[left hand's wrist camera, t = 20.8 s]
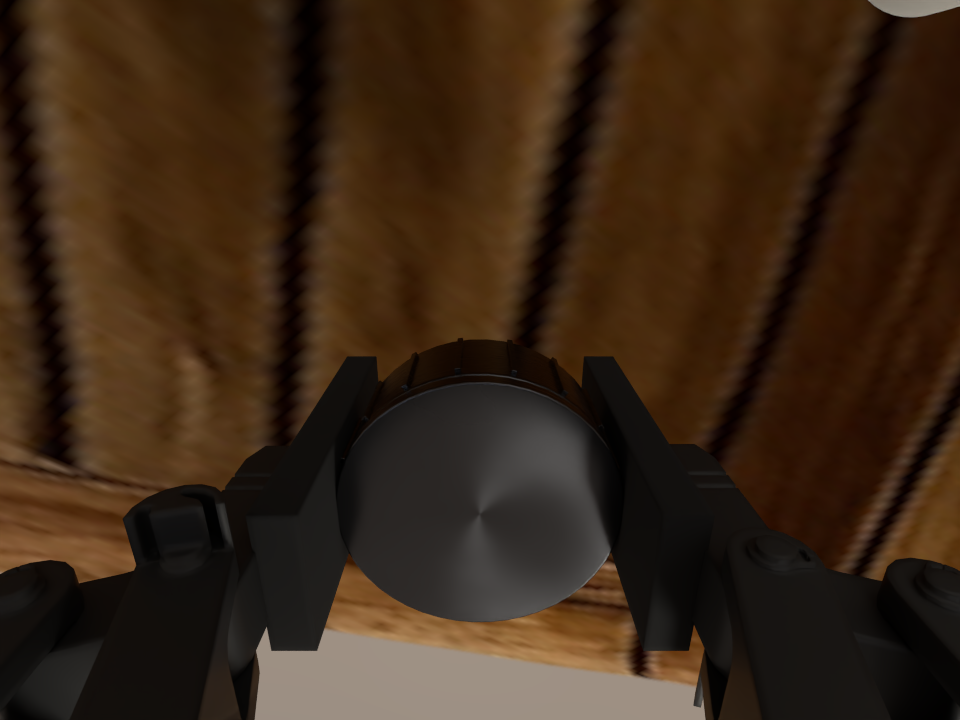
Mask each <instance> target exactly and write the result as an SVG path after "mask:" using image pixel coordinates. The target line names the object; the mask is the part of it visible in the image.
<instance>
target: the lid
mask: <svg viewBox="0 0 960 720" xmlns="http://www.w3.org/2000/svg"><path fill="white" fill-rule="evenodd" d="M603 429H604V426H603V424H602V422H601V419H600V417H599V415H598V413H597V410H596V408H595V406H594V404H593V401H592V399H591V397H590V395H589V392H588V391H587V389H586V388H585V389H583V390H582V388H581V387H580V386H579V385H578V383H577V382H576V381H575V379H574V378H572V377H571V376H570V375H569V374H568V373H567V372H566V371H565V370H564V369H563V368H562V367H560V366H559V365H558V363H557V360H556V359H555V358H553V357H552V359H549V358H547V357H545V356H543V355H542V354H540V353H538V352H536V351H533V350H531V349H528V348H526V347H523V346H520V345H516V344H513V342H512V340H507V342H504V341H495V340H464V341H463V338H458V341H457V342H451V343H447V344H444V345H440V346H436V347H434V348H431V349H429V350H426V351H424V352H422V353H420V354H417V353H416V352H415V353H413V354H412V356H411V359H409V360H407V361H406V362H405V363H403V364H402V365H401V366H399V367H398V368H397V369H395V370H394V371H393V372H392V373H391V374H390V375H389V376H388V377H387V378H386V379H385V380H384V381H383V382H381V381H379V382H378V383H377V385H376V388H375V390H374V392H373V395H372V397H371V399H370V401H369V404H368V406H367V408H366V410H365V413H364V415H363V417H362V418H359V420H358V422H357V424H356V426H355V429H354V431H353V433H352V435H351V437H350V440H349V442H348V444H347V446H346V449H345V451H344V453H343V455H342V457H341V461H340V462H341V463H343V464H342V467H341V470H340V473H339V476H338V482H337V487H336V503H337V512H338V520H339V528H340V533H341V536H342V539H343V541H344V543H345V545H346V548H347V550H348V552H349V554H350V555H351V557H352V558H353V560H354V561H355V563H356V564H357V566H358V567H359V568H360V569H361V570H362V572H363V573H364V574H365V575H366V576H367V578H369V579H370V580H371V581H372V582H373V583H374V584H375V585H376V586H377V587H378V588H380V589H381V590H382V591H384V592H385V593H387V594H388V595H389V596H391V597H392V598H394V599H396V600H398V601H399V602H401V603H403V604H405V605H407V606H409V607H411V608H414V609H416V610H418V611H421V612H423V613H427V614H430V615H433V616H437V617H440V618H446V619H451V620H456V621H467V622H493V621H502V620H509V619H514V618H519V617H524V616H527V615H530V614H533V613H536V612H539V611H542V610H544V609H546V608H548V607H551V606H553V605H555V604H557V603H559V602H560V601H562V600H564V599H566V598H567V597H569V596H570V595H572V594H573V593H574V592H576V591H577V590H579V589H580V588H581V587H582V586H584V585H585V584H586V583H587V582H588V581H589V580H590V579H591V578H592V577H593V576H594V575H595V574H596V573H597V571H598V570H599V569H600V568H601V566H602V565H603V564H604V563H605V561H606V559H607V558H608V556H609V554H610V553H611V551H612V549H613V547H614V545H615V542H616V540H617V538H618V535H619V532H620V528H621V523H622V514H623V506H624V488H623V484H622V479H621V474H620V467H619V465H618V463H617V460H616V458H615V456H614V453H613V451H612V449H611V447H610V444H609V442H608V440H607V437H606V435H605V433H604V431H603Z"/></svg>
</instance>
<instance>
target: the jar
mask: <svg viewBox="0 0 960 720" xmlns="http://www.w3.org/2000/svg"><path fill="white" fill-rule="evenodd" d="M868 1H869V2H871V3H872V4H873V5H874V6H875V7H877V8H879V9H880V10H882V11H884V12H886V13H889V14H892V15H896V16H901V17H920V16H926V15H930V14H934V13H937V12H941V11H945V10H948V9H952V8H955V7H959V6H960V0H868Z"/></svg>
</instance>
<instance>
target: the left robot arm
mask: <svg viewBox="0 0 960 720" xmlns="http://www.w3.org/2000/svg"><path fill="white" fill-rule="evenodd" d="M377 383H378V372H377V359H376V357H347V358H346V360H345V361H344V363H343V364H342V366H341V367H340V369H339V370H338V372H337V374H336V375H335V377H334V378H333V380H332V381H331V383H330V385H329V386H328V388H327V389H326V391H325V392H324V394H323V395H322V397H321V399H320V400H319V402H318V403H317V405H316V406H315V408H314V409H313V411H312V413H311V414H310V416H309V417H308V419H307V420H306V422H305V423H304V425H303V427H302V428H301V430H300V431H299V433H298V434H297V436H296V438H295V439H294V441H293V442H292V444H291V445H290V446H265V447H264V448H262V449H261V450H259V451H258V452H256V453H255V454H253V455H252V456H250V457H249V458H247V459H246V460H245V461H244V463H243V464H242V465H241V467H240V468H239V469H238V471H237V472H236V473H235V477H232V479H231V480H230V481H229V483H228V484H227V485H226V487H225V490H223V491H222V492H220V491H219V490H218V489H217V488H216V487H212V486H207V485H203V484H198V485H183V486H179V487H175V488H170V489H166V490H164V491H161V492H159V493H156V494H154V495H152V496H149V497H147V498H146V499H144V500H143V501H141V502H140V503H138V504H137V505H135V506H134V507H132V508H131V510H130V511H129V512H128V513H127V514H126V516H125V517H124V518H123V521H124V525H125V528H126V532H127V535H128V538H129V542H130V545H131V548H132V552H133V555H134V559H135V562H136V567H135V570H134V571H131V572H128V573H124V574H120V575H115V576H111V577H106V578H102V579H97V580H93V581H88V582H83V583H79V582H78V579H77V577H76V574H75V571H74V569H73V568H72V567H71V566H70V565H68V564H67V563H66V562H61V561H53V560H47V561H40V562H33V563H29V564H25V565H22V566H20V567H15V568H13V569H10V570H7V571H5V572H3V573H2V574H0V720H254V719H255V710H256V701H257V692H258V683H259V674H260V673H259V665H258V659H257V654H256V649H257V647H258V645H259V642H260V640H261V638H262V636H263V633H264V631H265V629H266V627H267V630H268V635H269V640H270V645H271V650H272V651H317V649H318V646H319V643H320V640H321V637H322V634H323V631H324V628H325V625H326V622H327V618H328V615H329V612H330V609H331V606H332V603H333V600H334V597H335V594H336V591H337V588H338V585H339V582H340V578H341V575H342V572H343V569H344V566H345V563H346V560H347V557H348V554H349V552H348V550H347V548H346V545H345V543H344V541H343V539H342V536H341V533H340V528H339V520H338V512H337V503H336V487H337V482H338V476H339V473H340V470H341V467H342V464H343V463H341V462H340V461H341V457H342V455H343V453H344V451H345V449H346V446H347V444H348V442H349V440H350V437H351V435H352V433H353V431H354V429H355V426H356V424H357V422H358V420H359V418H362V417H363V415H364V413H365V410H366V408H367V406H368V404H369V401H370V399H371V397H372V395H373V392H374V390H375V388H376V385H377ZM585 388H586V389H587V391H588V392H589V395H590V397H591V399H592V401H593V404H594V406H595V408H596V410H597V413H598V415H599V417H600V419H601V422H602V424H603V426H604V429H603V431H604V433H605V435H606V437H607V440H608V442H609V444H610V447H611V449H612V451H613V453H614V456H615V458H616V460H617V463H618V465H619V467H620V474H621V479H622V484H623V488H624V506H623V514H622V523H621V528H620V532H619V535H618V538H617V540H616V542H615V545H614V547H613V549H612V551H611V553H612V556H613V559H614V562H615V565H616V568H617V571H618V574H619V577H620V581H621V584H622V587H623V590H624V593H625V596H626V599H627V602H628V605H629V608H630V611H631V614H632V617H633V621H634V624H635V627H636V630H637V633H638V636H639V639H640V642H641V645H642V648H643V651H689V647H690V642H691V637H692V632H693V626H695V628H696V630H697V632H698V634H699V637H700V639H701V641H702V643H703V646H704V648H705V649H704V654H703V659H702V663H701V668H700V673H699V678H698V683H697V687H696V692H695V699H694V706H697V707H701V704H702V700H703V699H704V709H705V718H706V720H960V571H958V570H957V569H955V568H952V567H950V566H947V565H943V564H941V563H937V562H934V561H930V560H923V559H916V558H906V559H898V560H895V561H894V562H892V563H891V564H890V565H889V566H888V567H887V569H886V572H885V575H884V578H883V581H878V580H874V579H869V578H865V577H860V576H856V575H851V574H846V573H842V572H837V571H834V570H830V569H827V568H825V566H824V564H823V563H822V561H821V560H820V559H819V557H818V556H817V554H816V553H815V552H814V551H813V550H811V549H810V548H809V547H807V546H806V545H805V544H804V543H802V542H801V541H799V540H797V539H795V538H793V537H791V536H789V535H787V534H784V533H782V532H778V531H774V530H771V529H769V528H768V527H767V526H766V524H765V523H764V522H763V521H762V519H761V518H760V517H759V515H758V514H757V513H756V511H755V510H754V509H753V507H752V506H751V505H750V503H749V502H748V501H747V500H746V498H745V497H744V496H743V494H742V493H741V492H740V490H739V489H738V488H736V487H735V484H734V482H733V481H732V480H731V479H730V477H729V476H728V475H726V472H725V471H724V469H723V468H722V467H721V465H720V464H719V463H718V461H717V460H716V459H715V457H713V456H712V455H710V454H709V453H707V452H706V451H704V450H703V449H701V448H700V447H698V446H697V445H695V444H669V443H668V442H667V440H666V439H665V437H664V435H663V434H662V432H661V431H660V429H659V428H658V426H657V424H656V423H655V421H654V420H653V418H652V417H651V415H650V414H649V412H648V410H647V409H646V407H645V406H644V404H643V403H642V401H641V400H640V398H639V396H638V395H637V393H636V392H635V390H634V389H633V387H632V386H631V384H630V382H629V381H628V379H627V378H626V376H625V375H624V373H623V371H622V370H621V368H620V367H619V365H618V364H617V362H616V361H615V359H614V357H584V363H583V376H582V390H583V389H585Z"/></svg>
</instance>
